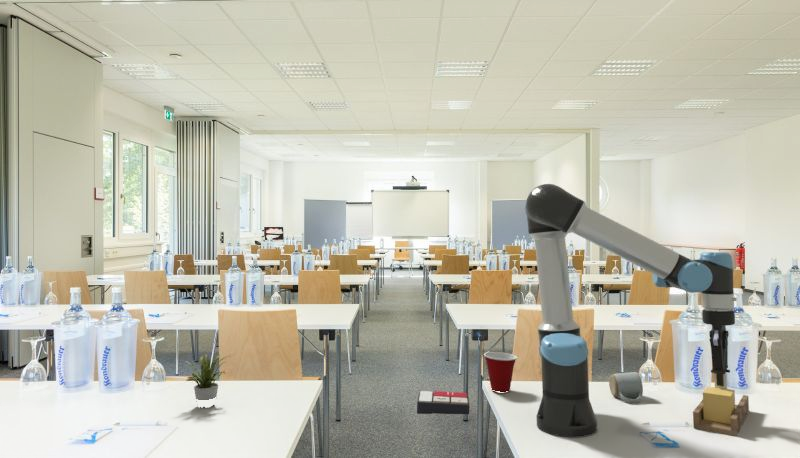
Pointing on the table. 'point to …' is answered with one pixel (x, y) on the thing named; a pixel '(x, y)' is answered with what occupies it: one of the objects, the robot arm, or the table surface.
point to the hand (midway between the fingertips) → (721, 397)
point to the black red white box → (442, 403)
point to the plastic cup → (500, 370)
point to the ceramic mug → (626, 386)
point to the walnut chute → (719, 427)
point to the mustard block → (718, 404)
